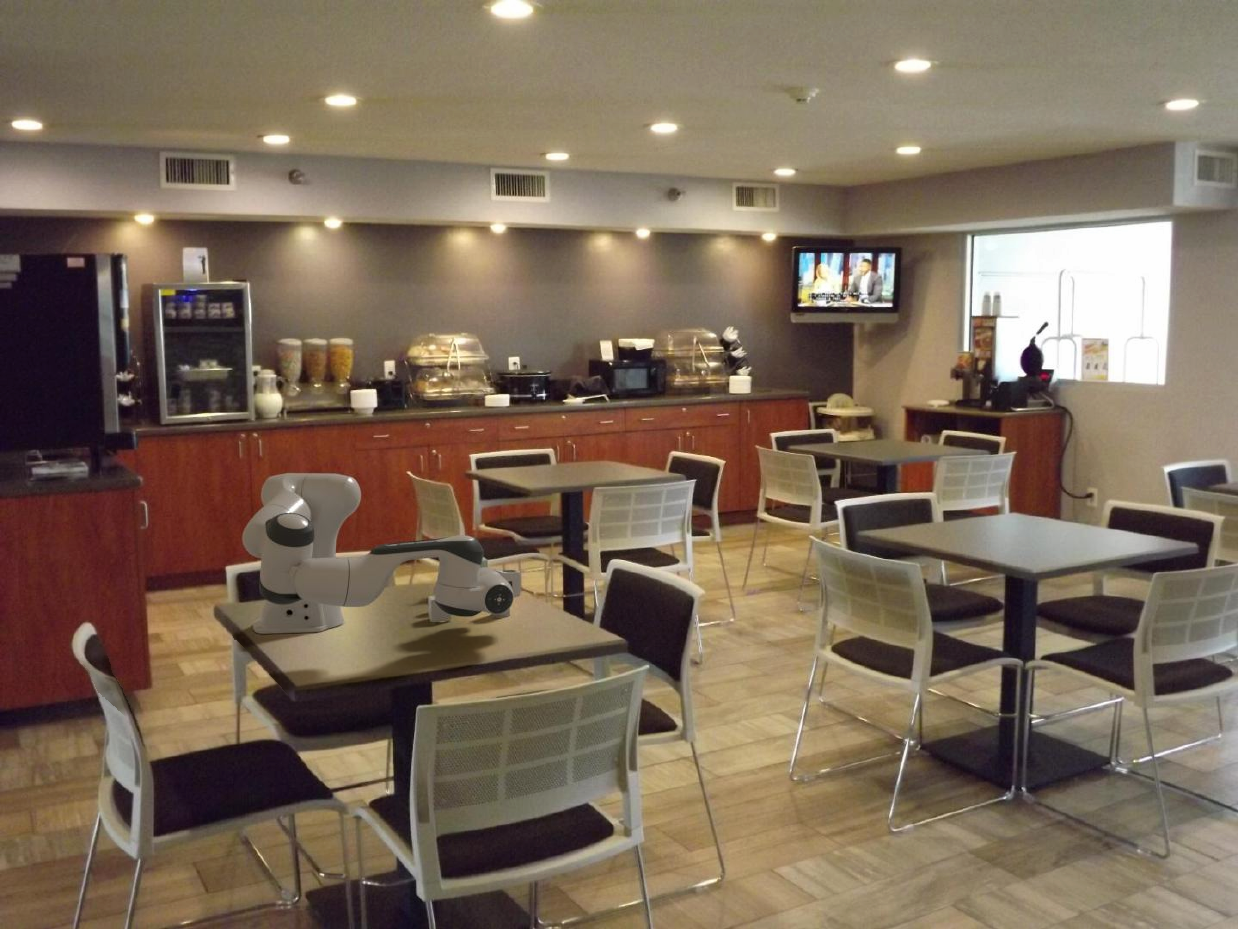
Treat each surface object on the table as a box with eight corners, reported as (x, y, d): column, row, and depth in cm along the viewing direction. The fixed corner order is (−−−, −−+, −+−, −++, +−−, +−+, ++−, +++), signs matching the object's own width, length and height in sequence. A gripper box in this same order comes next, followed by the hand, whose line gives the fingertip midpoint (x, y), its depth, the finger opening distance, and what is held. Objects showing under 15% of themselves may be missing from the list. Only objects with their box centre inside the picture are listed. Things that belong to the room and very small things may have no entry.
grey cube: (431, 623, 301) (431, 600, 301) (428, 619, 306) (428, 596, 305) (451, 621, 303) (450, 598, 302) (447, 617, 307) (447, 595, 307)
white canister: (492, 618, 306) (492, 588, 305) (489, 614, 311) (488, 584, 310) (511, 616, 307) (511, 586, 307) (507, 612, 312) (507, 583, 311)
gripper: (443, 602, 283) (435, 590, 296) (526, 596, 289) (514, 585, 302) (443, 576, 282) (434, 566, 295) (526, 570, 288) (514, 561, 301)
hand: (475, 575), depth 299 cm, fingers closed on sage block, 5 cm apart
